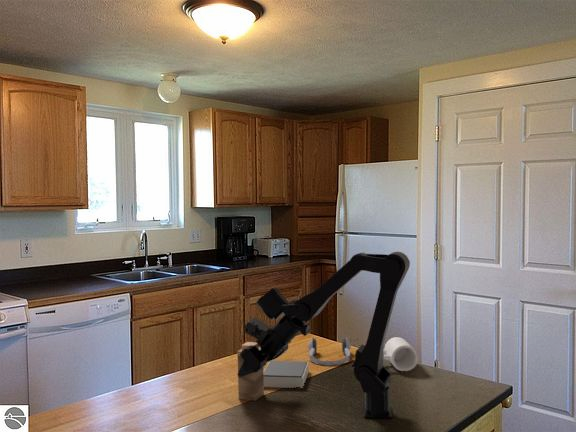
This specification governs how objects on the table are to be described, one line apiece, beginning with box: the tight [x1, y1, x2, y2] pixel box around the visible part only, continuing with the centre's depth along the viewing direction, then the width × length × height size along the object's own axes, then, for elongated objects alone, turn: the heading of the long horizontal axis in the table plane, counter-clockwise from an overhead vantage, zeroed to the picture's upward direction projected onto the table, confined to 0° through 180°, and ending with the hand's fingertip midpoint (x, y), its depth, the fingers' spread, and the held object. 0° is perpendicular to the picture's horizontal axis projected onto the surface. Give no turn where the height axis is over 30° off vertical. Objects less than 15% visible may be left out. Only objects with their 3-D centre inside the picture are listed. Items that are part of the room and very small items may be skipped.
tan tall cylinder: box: [237, 347, 265, 401], centre depth 134 cm, size 5×5×12 cm
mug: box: [383, 336, 419, 372], centre depth 156 cm, size 12×10×8 cm
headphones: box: [307, 337, 359, 366], centre depth 168 cm, size 17×6×20 cm
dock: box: [263, 360, 310, 389], centre depth 147 cm, size 14×12×3 cm
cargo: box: [241, 341, 260, 351], centre depth 134 cm, size 3×3×2 cm
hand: (246, 370), depth 135 cm, fingers open, 8 cm apart
